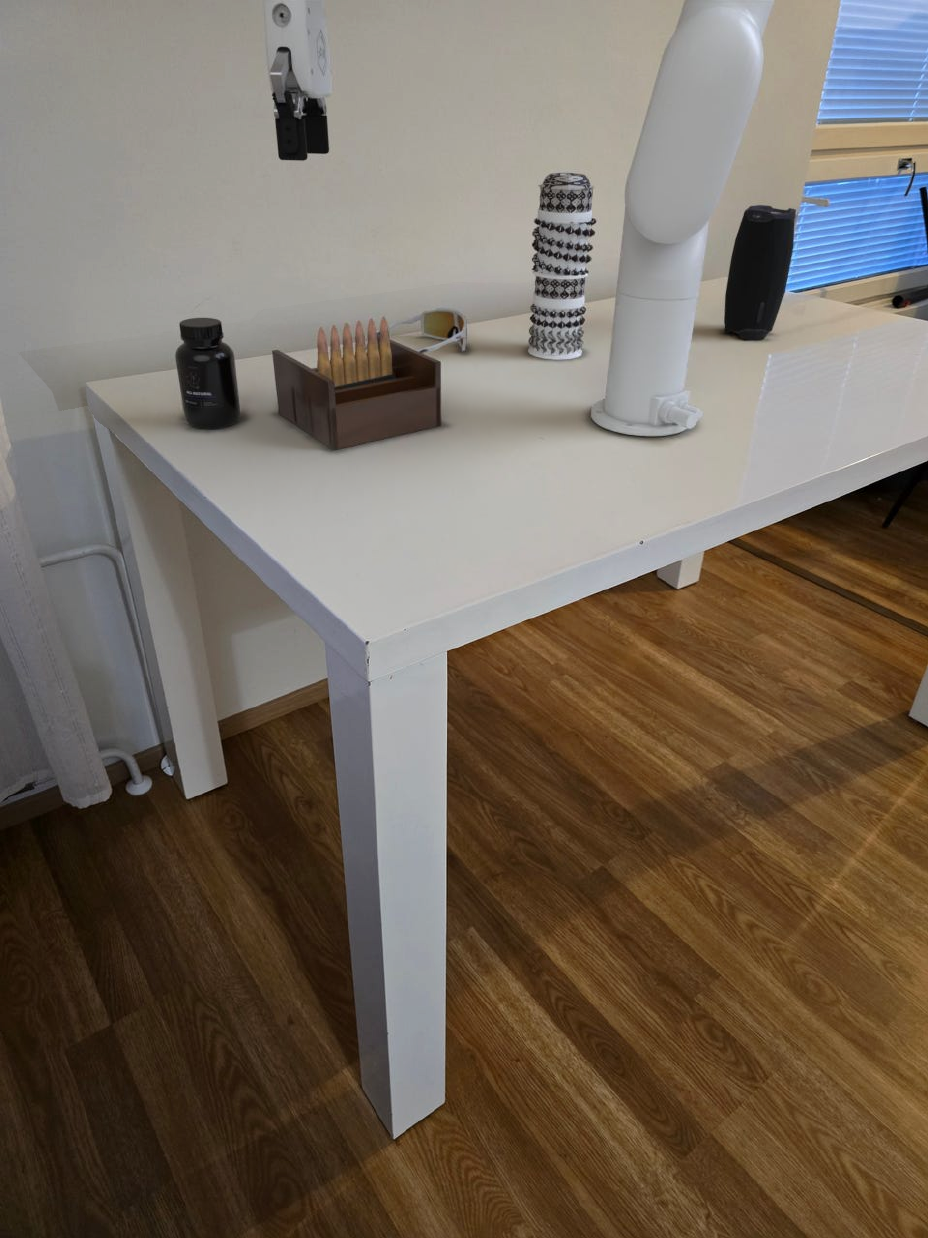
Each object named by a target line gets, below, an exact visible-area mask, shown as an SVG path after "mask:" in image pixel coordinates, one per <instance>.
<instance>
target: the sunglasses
mask: <svg viewBox="0 0 928 1238" xmlns="http://www.w3.org/2000/svg"><path fill="white" fill-rule="evenodd" d="M416 322H420V329H421V334H422V336H424V337H428V338H432V339H436V340H441V342H438V343H436V344H433V345H430V346H425V347H423V348H420V349H418V350H417V351H418V352H420V353H422V354H425V353H429V352H432V351H436V350H438V349H439V348H442V347H444V346H445V345H449V344H450V343H458V345H459V347H460V348H461V352H466V346H467V342H468V341H467V340H468V328H467V325H468V320H467V318H466V316H465V315H464V313H463V312H461V311H459V310H458V309H453V308H448V307H437V308H435V309H430V310H424V311H423V312H421V313H420V314H416V315H413V316H410V317H407V318H405V319H401V320H399V321H397V322H394V323H392V324H390V325H389V324H388V330H389V332H390V331H391V330H393V329H395V328H397V327H399V326H403V325H408V324H410V325H411V324H414V323H416ZM376 332H377V334H379V335H380V329H379V330H376ZM367 343H368V341H366V342H365V345H366V349H367Z"/></svg>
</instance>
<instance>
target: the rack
mask: <svg viewBox="0 0 928 1238" xmlns="http://www.w3.org/2000/svg"><path fill="white" fill-rule="evenodd" d="M389 340H390V348H391V353H392V374H394V375H395V379H392V380H386V381H381V382H376V383H371V384H365V385H360V386H355V387H349V388H344V389H339V390H335V387H334V381H333V380H331V379H329V378H328V377H326V376H324V375H322V374H320V373H319V372H318V370H317V367H313V368H312V367H310V366H308V365H306V364H304V363H303V362H301V361H298V360H297V359H295V358H294V357H292V356H290V355H288V354H286V353H285V352H283V351H281V350H279V349H274V350H272V351H271V354H272V355H271V356H272V363H273V374H274V382H275V383H274V384H275V392H276V399H277V400H276V401H277V409H278V410H277V411H278V415H280V416H281V417H283V418H285V419H286V420H287V421H289V422H291V423H292V424H293V425H294V426H296V427H298V428H299V429H300V430H302V431H303V432H305V433H307V434H308V435H309V436H311V437H312V438H314V439H315V440H316V441H318V442H320V443H321V444H323V445H324V446H326V447H327V448H328V449H330V450H332V451H337V450H341V449H345V448H349V447H354V446H358V445H363V444H367V443H372V442H377V441H380V440H385V439H390V438H394V437H398V436H404V435H407V434H411V433H417V432H421V431H425V430H429V429H433V428H434V429H435V428H438V427H441V426H442V371H441V370H442V362H441V360H438V359H436V358H434V357H431V356H430V355H427V354H425V353H423V354H422V353H420V352H418V350H415V349H413V348H411V347H408V346H406V345H404V344H402V343H400V342H398V341H395V340H393V339H391V338H389ZM377 342H378V350H379V346H380V335H379V334H377Z"/></svg>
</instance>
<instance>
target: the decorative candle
mask: <svg viewBox="0 0 928 1238" xmlns="http://www.w3.org/2000/svg"><path fill="white" fill-rule="evenodd" d="M538 188H539V189H540V194H539V207H538V209H537V217H535V218H534V220H533V222H534V224H535V225H537V226H536V227H535V228H534V229H533V231H532V233H531V235H532V237H534V240H533V242H532V243H531V247H532V248H533V250H534V251H536V253H534V254H533V256H532V257H531V261H532V263H533V264H534V265H533V266H532V268H531V271H532V274H533V275H534V276H535V280H534V291H533V293H532V304H531V305H530V307H529V308H530V311H531V312H532V314H531V315H530V317H529V321H530V322H531V323H532V325H530V327H529V328H528V334H529V335H530V337H529V338H528V340H527V341H528V344H529V348H528V350H527V352H528V353H529V355H531V356H533V357H535V358H540V359H544V360H555V361H561V360H571V359H576V358H579V357H580V356H581V355H582V353H583V350H582V349H581V348H583V345H584V340H583V339H582V338H583V337H584V334H585V330H584V328H583V327H582V325H584V324H585V322H586V318H585V317H583V315H585V314H586V312H587V308H586V307H585V306H584V305H585V299H586V294H585V286H586V278H587V277H588V276H589V272H590V271H589V270H588V269H587V268H586V265H587V264H588V263H590V262H591V261H592V260H593V258H592V257H591V255H589V254H588V253H589V252H591V251H592V250H593V249H594V245H592V244H590V242H589V241H588V240H589V239H591V238H592V237H593V236H595V234H596V231H595V230H594V229H593V228H591V227H593V226H594V225H595V224H596V223H597V219H596V218H595V217H594V218H593V209H592V206H593V205H592V204H593V193H594V189H595V188H596V186H593V185H592V184H591V182H590V179H589V177H588V176H587V175H586V174H584V173H583V174H582V173H575V172H553V173H549V174H548V175H546V176H545V178H544V180H543V181H542V183H541V184H538Z"/></svg>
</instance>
